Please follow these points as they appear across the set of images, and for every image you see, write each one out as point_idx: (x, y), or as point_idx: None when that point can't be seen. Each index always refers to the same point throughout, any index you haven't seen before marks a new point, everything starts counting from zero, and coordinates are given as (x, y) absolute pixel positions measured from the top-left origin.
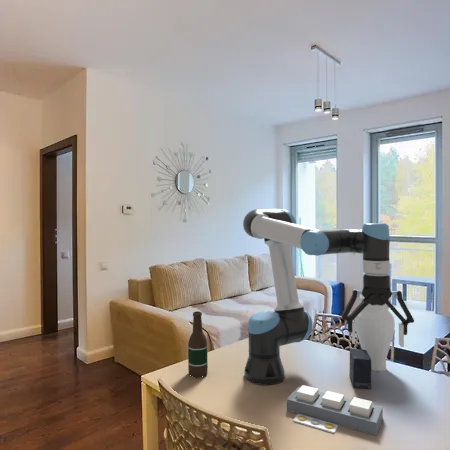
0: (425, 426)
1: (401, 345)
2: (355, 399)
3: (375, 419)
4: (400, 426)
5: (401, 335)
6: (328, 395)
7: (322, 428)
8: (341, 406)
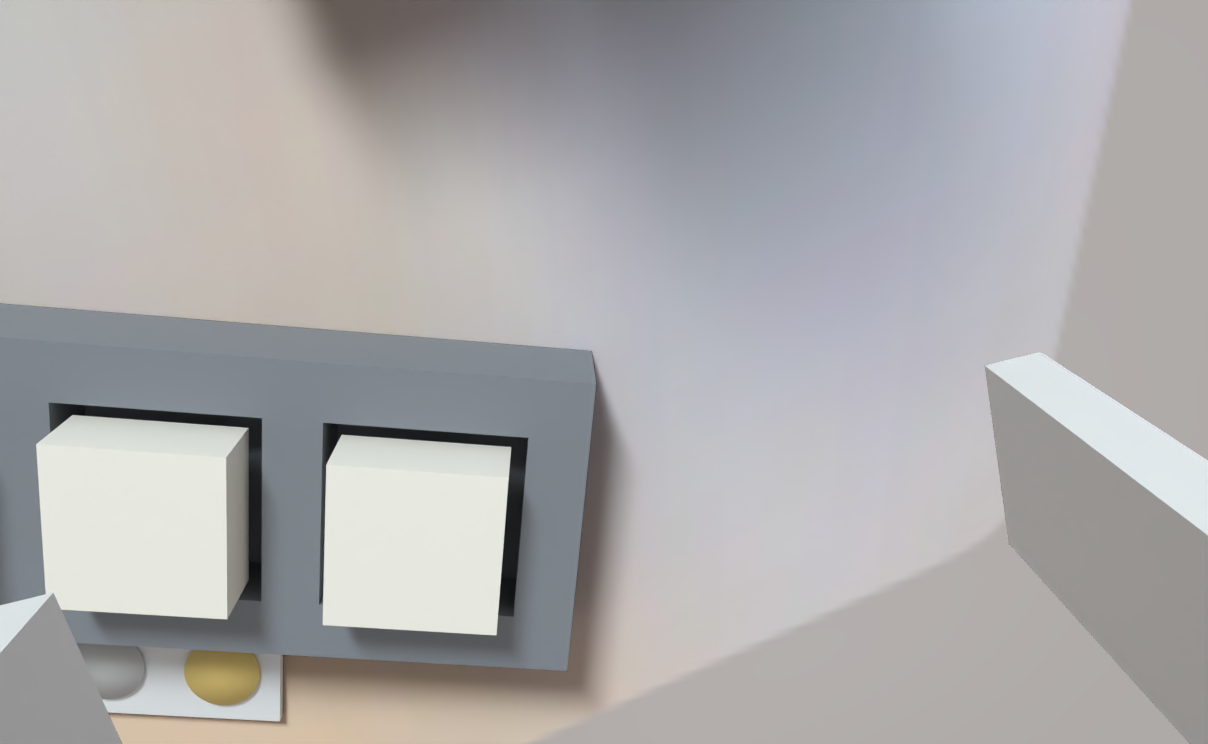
0: (920, 324)
1: (1029, 558)
2: (352, 506)
3: (557, 627)
4: (731, 410)
5: (1148, 681)
6: (85, 539)
7: (186, 716)
8: (246, 529)
